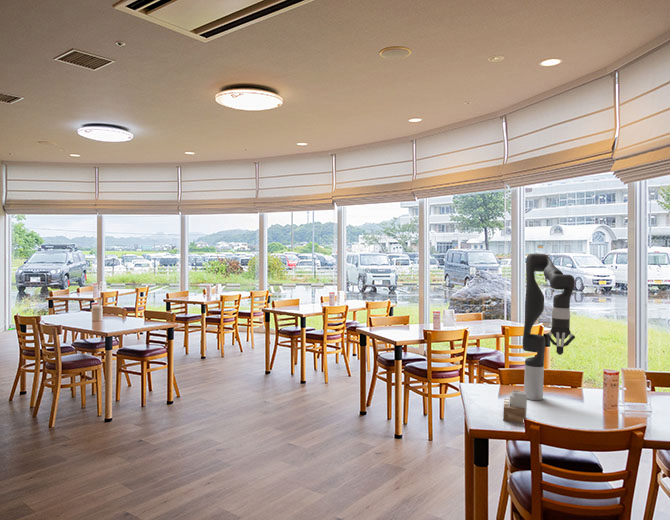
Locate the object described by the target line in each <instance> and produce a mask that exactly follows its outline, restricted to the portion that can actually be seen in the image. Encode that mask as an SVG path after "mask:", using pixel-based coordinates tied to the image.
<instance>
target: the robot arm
mask: <svg viewBox="0 0 670 520" xmlns="http://www.w3.org/2000/svg"><path fill="white" fill-rule="evenodd" d="M525 270H526V271H525V275H526V277H525V280H526V283H525V284H526V286H525V298H524V300H525V301H524V323H523V324H524V325H523V334H522V350H523V351H525V352H529V353H530V352H531V353H537V354H536V355H534V356H532V357H531V356H530V357H527V358H525V360H524V378H523V379H524V381H523V382H524V383H523V384H524V385H523V392H525V393H526V394H525V395H526V396H527V400H530V401H531V400H532V401H542V400H543V398H544V376H545V375H544V374H545V373H544V372H545V371H544V370H545V353H546V352H545V351H546V337H547V338H548V340H549V341H550V342H551V344H552V345H553V346H555V347H556V354H557V355H560V356H561V355H563V354H564V347H567V346H569V345H570V344H571V343H572V341H574V339H576V335H574V334H573V333H571V330H570V323H571V311H570V310H571V308H570V306H571V304H570V303H571V297H572V295H573V294H572V293H573V290H574V287H575V284H576V280H575V277H574V276H573V275H572V274H564V273H563V272H562V271H561V270H560V269H559V268H558V267H557V266H555V264H554V262H553V261H552V259H551V257H549V256H548V255H547V254H544V253H528V254H527V256H526V260H525ZM535 272H538V273H539V272H543V276H544V278H545V279H546V280H548V282H549V284H550V285H549V286H550V288H551V289H553V290H560V291H561V290H563V292H562V293H560V294H559V293H558V294H555V295H554V296H553V301H552V302H553V304H552V305H553V306H552V313H551V314H552V315H551V329H550V331H549V332H546V333H545V335H546V337H545V336H544V335H543V334H534V333H532V329H533V326H534V324H535V323H536V321H537V320H538V319H539V317H540V316H541V315H543V312H544V309H545V295H544V293H543V292H542V290H541V288H540V286H539V285H538V282H537V280H536V276H535ZM552 336H553V337H554V338H555V340H554V339H553V337H552ZM568 337H569V338H568ZM567 338H568V339H567ZM565 339H566V341H565Z"/></svg>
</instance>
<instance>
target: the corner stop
mask: <svg viewBox="0 0 670 520" xmlns="http://www.w3.org/2000/svg"><path fill="white" fill-rule="evenodd" d="M509 402H510V398H504V401H503V416H502V417H503V420H502V421H504V422H511V423H518V422H519V423H520V422H521V423H520V424H524V423H523V419H524V418H525V408H518V407H510V406H509ZM525 419H526V418H525Z"/></svg>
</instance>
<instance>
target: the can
mask: <svg viewBox="0 0 670 520" xmlns="http://www.w3.org/2000/svg"><path fill="white" fill-rule="evenodd" d="M525 394H526V393H525V392H524V391H523V390H511V392H510V393H509V406H510V407H518V408H525V419H526V418H527V410H528V409H527V407H528V405H527V404H528V399H527V396H526V395H525Z"/></svg>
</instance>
